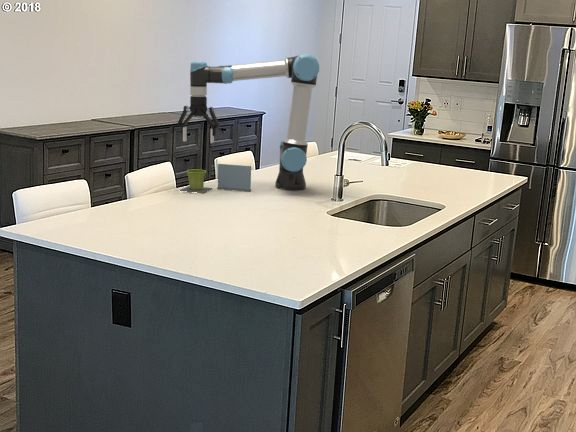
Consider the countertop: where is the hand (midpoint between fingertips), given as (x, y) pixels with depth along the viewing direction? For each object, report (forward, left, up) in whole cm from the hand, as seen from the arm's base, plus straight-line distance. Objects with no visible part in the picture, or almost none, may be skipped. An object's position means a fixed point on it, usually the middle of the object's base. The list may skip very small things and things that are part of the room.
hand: (198, 142), depth 358 cm
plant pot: (+1, +1, -22) cm, 22 cm away
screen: (-15, -8, -23) cm, 29 cm away
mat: (+1, +1, -23) cm, 23 cm away
